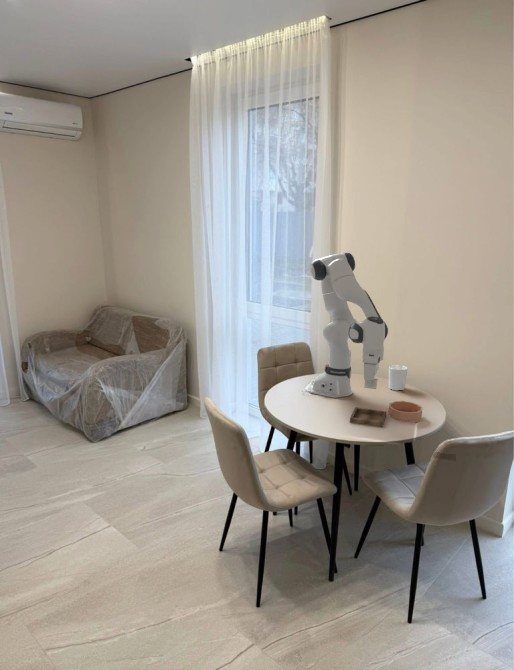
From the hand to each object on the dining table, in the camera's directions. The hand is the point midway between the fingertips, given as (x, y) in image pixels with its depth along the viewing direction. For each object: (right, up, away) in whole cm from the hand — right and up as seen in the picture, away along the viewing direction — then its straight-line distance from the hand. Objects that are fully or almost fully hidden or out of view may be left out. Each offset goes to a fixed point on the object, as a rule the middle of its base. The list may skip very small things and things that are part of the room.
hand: (370, 385), depth 215 cm
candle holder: (+25, -7, +48) cm, 54 cm away
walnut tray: (0, -17, +4) cm, 17 cm away
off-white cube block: (0, -1, 0) cm, 1 cm away
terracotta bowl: (+18, -16, +9) cm, 25 cm away
